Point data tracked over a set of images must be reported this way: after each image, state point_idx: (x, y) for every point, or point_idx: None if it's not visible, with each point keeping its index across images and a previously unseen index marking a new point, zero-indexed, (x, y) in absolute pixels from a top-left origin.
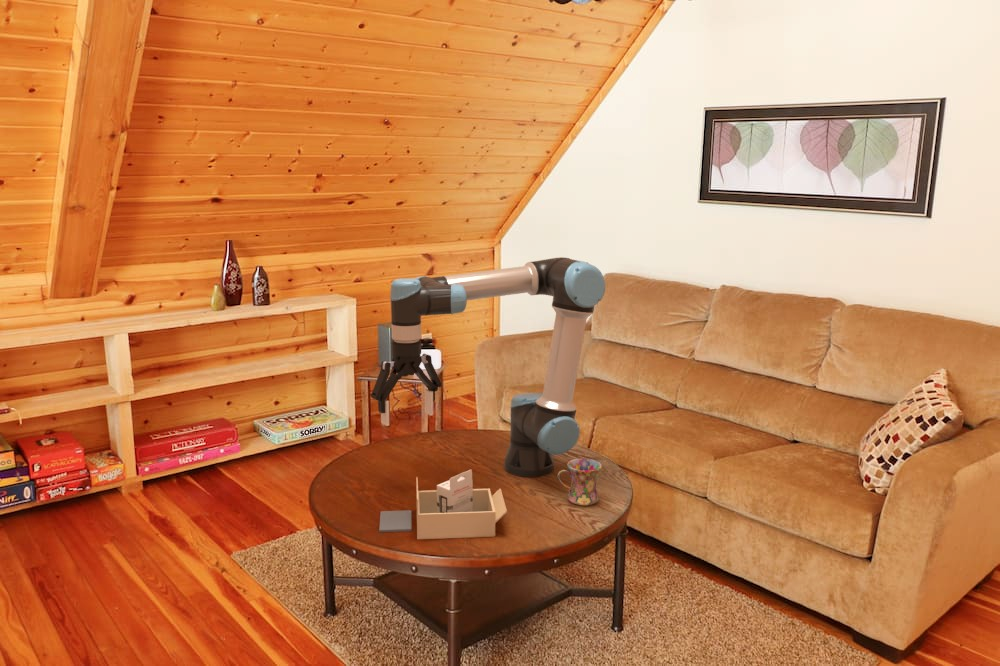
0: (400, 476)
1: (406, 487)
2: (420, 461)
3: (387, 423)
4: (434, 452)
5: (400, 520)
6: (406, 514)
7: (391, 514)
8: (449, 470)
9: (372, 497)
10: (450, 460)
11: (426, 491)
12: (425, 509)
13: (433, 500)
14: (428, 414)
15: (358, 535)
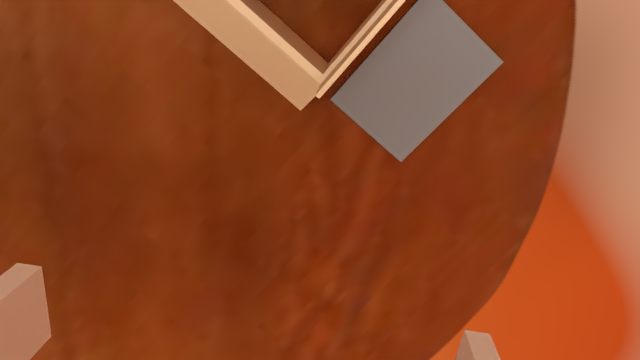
0: (192, 299)
1: (225, 237)
2: (89, 330)
3: (489, 348)
4: None
5: (406, 67)
6: (362, 87)
7: (394, 122)
8: (54, 236)
9: (340, 254)
10: None
11: (297, 57)
12: (310, 50)
13: (284, 33)
14: (44, 297)
15: (555, 92)
